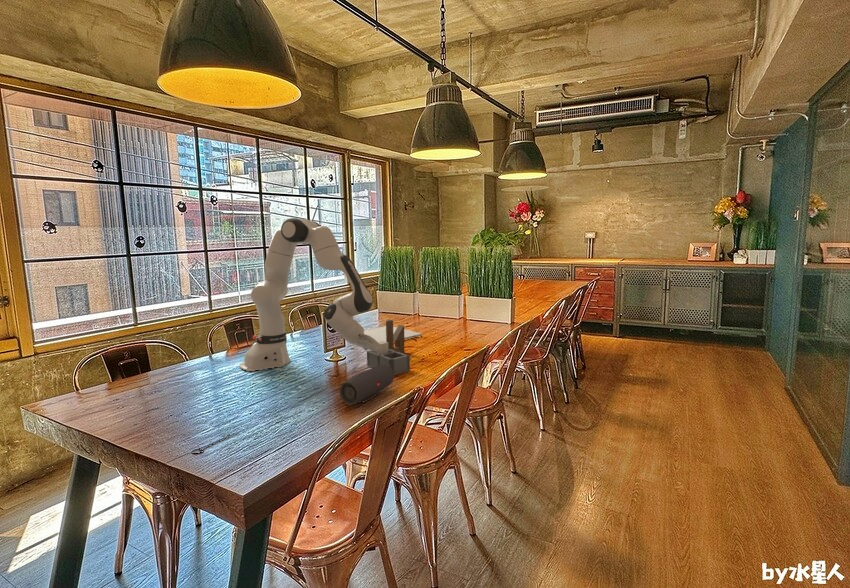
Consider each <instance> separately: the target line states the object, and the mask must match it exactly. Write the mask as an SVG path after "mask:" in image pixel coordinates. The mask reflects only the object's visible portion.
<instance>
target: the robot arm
mask: <svg viewBox="0 0 850 588" xmlns="http://www.w3.org/2000/svg"><path fill="white" fill-rule="evenodd" d="M298 245H310V247H311V249H312V251H313V254H314V258H315V260H316V263H317V264H318V266H319V267H321V268H322V269H324V270H327V271H340V272H341V273H343V274H344V275H345V277H346V279H347V281H348V282H349V285H350V286H351V288H352V291H351V292H349V293H347V294H344V295H342V296H339V297H337V298H335V299H334V300H333V302H332V303H330V304H329V305H327V306H326V308H325V309H324V311H323V318H324V320H325V321H326V323H327V324H328V325H329V326H330V327H331V328H332V329H333V330H334V331H335V332H337V333H339V337H340V338H341V337H342V338H341V339H343V338H344V339H343V340H345V341H346V342H347V343H349V344H352V345H355V346H357V347H361V349H363V350H365V351H371V350H372V351H374V352H375V353H376V354H378V355H379V354H380V353H381V351H380V350H379V348H380V347H381V345H380V344H379V343H378V342H377V341H376V340H375V339H373V338H372V337H371V336H369V335H365V334H364V330H365V328H364V327H363V326H362V325H361V324H360V323H359V322H358V321H357V320H355V319H354V318H353V317H354V316H356V315H358V314H361V313H365V312H367V311H369V310H371V308H372V305H373V304H374V299H373V296H372V295H373V294H371V292H370V291H369V289H368V288H367V286H366V284H365V283H364V281H363V279H362V277H361V276H360V274H359V272H358V270H357V268H356V266H355V264H354V263H353V261H352V260H351V258H350V257H349V255H347V254H344V253H342V251H341V250H340V247H339V244H338V241H337V239H336V237H335V235H334V233H333V231H332V230H331V228H330V227H328V226H327V225H320V223H318V222H316V221H314V220H310V219H307V218H297V217H292V218H291V217H289V218H287V219H284V221H283V222H282V224H281V226H280V228H277V229H276V230H275V231H274V234H273V236H272V238H271V240H270V243H269V247H268V250H267V252H266V253H267V254H266V258H265V262H264V280H263V282H259V283H257V284H256V285H255V287H253V288H252V290H251V292H250V298H251V301H252V302H253V304H254V305H255V308H256V312H257V315H258V322H259V323H258V324H259V334H258V335H256V334H254V335H252V339H253V340H255V341H256V343H255V344H254V345H253V346H251V347H250V348H248V350H247V351H246V352H245V354H244V358H243V359H244V360H243V362H240V363H239V365H238V366H239V369H240V370H242V369H243V370H242V371H244V370H246V371H245V372H249V371H252V372H256V371H255V370H259V371H262V370H261V369H265V370H268V369H267V368H272V369H275V368H274V367H278V368H282V366H284V367H285V366H286V365H288V364H289V363H290V362H291V358H290V356H289V355H290V354H289V351H288V347H287V339H288V337H287V332H286V325H285V315H284V313H283V312H282V308H281V305H280V304H281V303H280V302H281V301H282V300H283V299H285V297H286V296H287V294H288V291H289V287H288V285H289V284H288V283H289V274H290V268H291V265H292V261H293V258H294V254H295V250H296V247H297V246H298ZM285 364H286V365H285Z"/></svg>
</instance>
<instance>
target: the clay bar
mask: <svg viewBox="0 0 850 588" xmlns="http://www.w3.org/2000/svg"><path fill="white" fill-rule="evenodd" d="M378 343H379V344H380V345H381V347H380V348H379V350H380V351H381V353H380V355H381V354H385V353H388V342H385V341H380V342H378Z"/></svg>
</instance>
